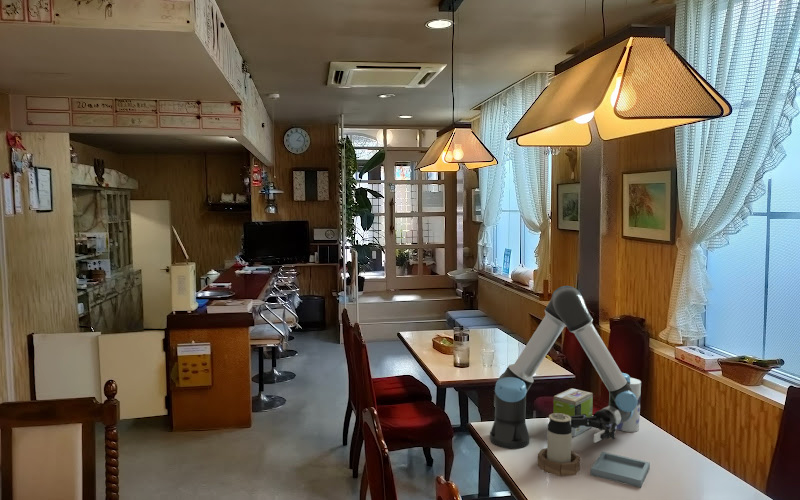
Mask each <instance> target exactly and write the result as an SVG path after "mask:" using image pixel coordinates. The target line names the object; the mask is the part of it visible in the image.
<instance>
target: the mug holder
mask: <svg viewBox="0 0 800 500" xmlns="http://www.w3.org/2000/svg"><path fill="white" fill-rule="evenodd" d="M536 465H537V466H538V467H539V468H540V470H541V471H542V472H544V473H546V474H551V475H555V476H559V477H568V476H575V475H577V473H578V472H579V471H580V470H581V456H579V455H578V454H576V453H575V452H574V451H573V450H571V462H568V463H558V462H554V461H550V460H547V447H545V448H542V449H541V450H540V451H539V452H538V453H537V464H536Z"/></svg>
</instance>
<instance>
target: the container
mask: <svg viewBox="0 0 800 500" xmlns="http://www.w3.org/2000/svg"><path fill="white" fill-rule="evenodd" d="M630 382H631V383H630V387H631V389H632V391H633V392H634V394H635V395H636V397H637V401H638V403H637V407H636V408H635V409H634V410H633V415H632V417H631V418H630V419H628V420H627V421H625V422H623V423H621V424H619V425H617V430H619V431H623V432H630V433H632V432H633V433H634V432H637V431H639V430H640V414H641V413H640V412H641V389H642V388H641V387H642V381H641V380H640V379H637V378H634V377H630Z"/></svg>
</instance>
